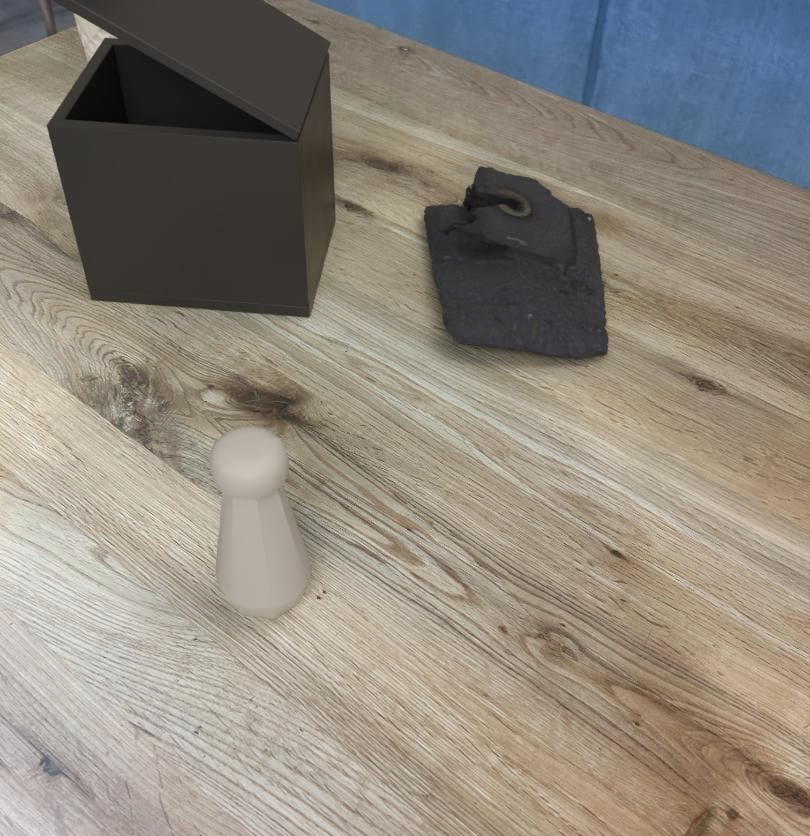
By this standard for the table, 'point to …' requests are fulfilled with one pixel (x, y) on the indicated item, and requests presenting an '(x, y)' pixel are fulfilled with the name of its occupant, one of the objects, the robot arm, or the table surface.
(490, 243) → the dark slate chunk
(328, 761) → the table surface
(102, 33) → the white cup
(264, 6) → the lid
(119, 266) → the box
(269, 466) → the salt shaker
